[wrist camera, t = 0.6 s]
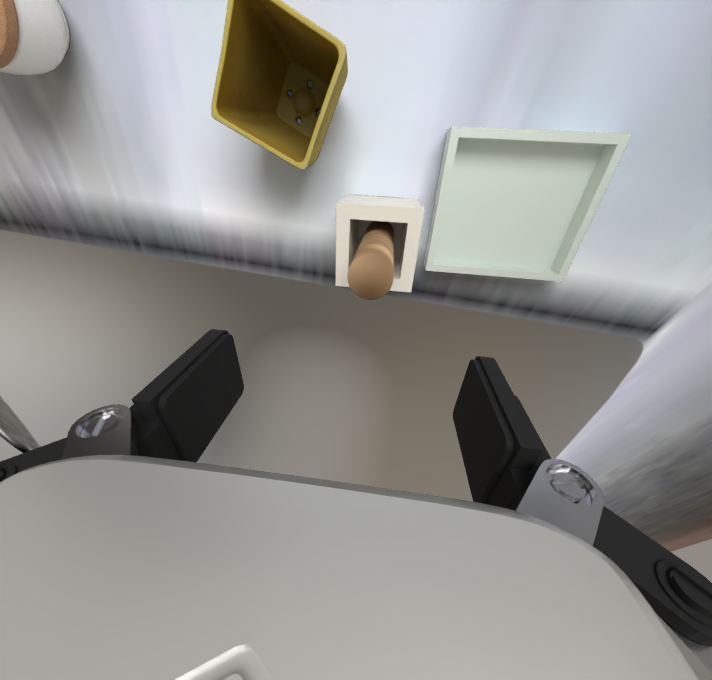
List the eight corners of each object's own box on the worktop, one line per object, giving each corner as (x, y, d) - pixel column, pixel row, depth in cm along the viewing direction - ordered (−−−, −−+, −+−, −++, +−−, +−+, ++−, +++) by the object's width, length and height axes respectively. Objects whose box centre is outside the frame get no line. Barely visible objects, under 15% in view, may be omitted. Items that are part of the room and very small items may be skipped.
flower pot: (325, 171, 32) (304, 173, 24) (254, 128, 30) (208, 115, 23) (361, 79, 27) (348, 45, 20) (279, 23, 26) (232, -36, 18)
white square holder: (417, 198, 32) (424, 208, 25) (407, 266, 36) (411, 292, 29) (349, 194, 33) (336, 202, 25) (347, 261, 37) (335, 285, 29)
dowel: (395, 219, 33) (396, 256, 19) (392, 249, 35) (390, 301, 21) (366, 217, 33) (348, 253, 20) (365, 247, 35) (346, 297, 21)
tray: (611, 136, 27) (632, 134, 25) (551, 274, 35) (562, 281, 32) (447, 129, 29) (452, 126, 26) (423, 263, 36) (425, 270, 34)
